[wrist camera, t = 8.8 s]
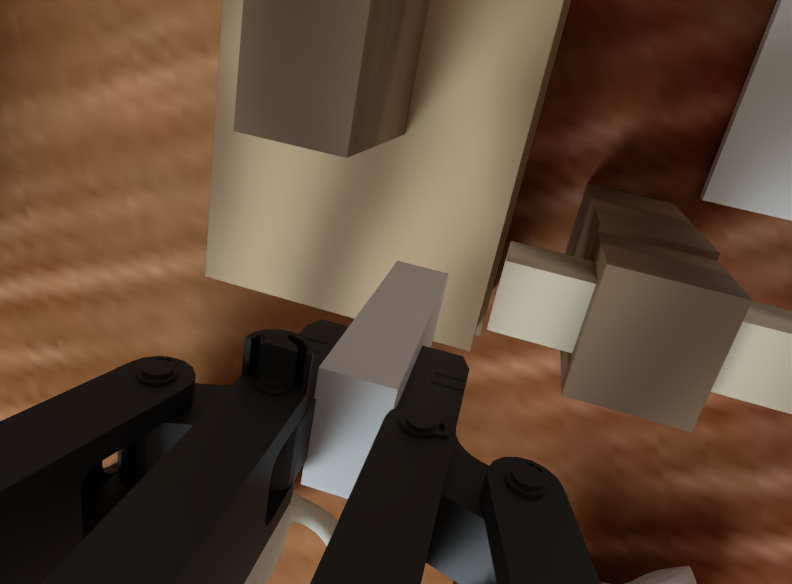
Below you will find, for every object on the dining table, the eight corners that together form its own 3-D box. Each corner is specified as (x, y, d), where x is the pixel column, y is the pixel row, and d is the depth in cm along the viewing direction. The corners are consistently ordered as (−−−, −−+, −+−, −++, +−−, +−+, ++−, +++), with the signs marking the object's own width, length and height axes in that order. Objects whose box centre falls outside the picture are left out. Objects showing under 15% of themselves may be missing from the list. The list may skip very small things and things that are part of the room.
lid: (233, 259, 27) (98, 338, 19) (284, -342, 19) (86, -648, 11) (477, 326, 26) (441, 445, 17) (646, -306, 17) (728, -641, 9)
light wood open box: (282, 234, 33) (142, 317, 22) (340, -263, 25) (161, -547, 13) (626, 325, 30) (670, 476, 19) (827, -205, 22) (1125, -508, 10)
